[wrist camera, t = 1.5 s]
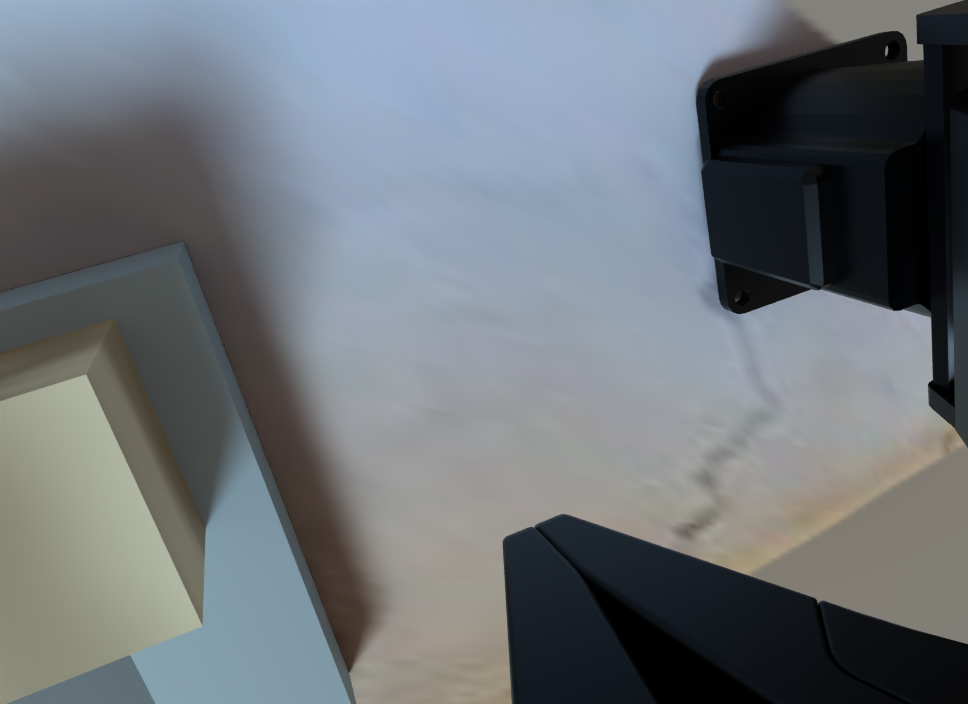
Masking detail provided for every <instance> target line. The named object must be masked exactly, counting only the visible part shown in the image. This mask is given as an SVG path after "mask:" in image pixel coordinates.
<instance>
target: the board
mask: <svg viewBox="0 0 968 704" xmlns="http://www.w3.org/2000/svg"><path fill="white" fill-rule="evenodd" d="M111 319H115V321H116V323H117V325H118V328H119V330H120V332H121V335H122V337H123V339H124V342H125V344H126V346H127V348H128V351H129V353H130V355H131V358H132V360H133V362H134V365H135V367H136V369H137V371H138V374H139V376H140V378H141V381H142V383H143V385H144V388H145V390H146V392H147V394H148V397H149V399H150V401H151V404H152V406H153V408H154V411H155V413H156V415H157V418H158V420H159V422H160V424H161V427H162V429H163V431H164V434H165V436H166V438H167V441H168V443H169V445H170V447H171V450H172V452H173V454H174V457H175V459H176V461H177V464H178V466H179V468H180V470H181V473H182V475H183V477H184V480H185V482H186V484H187V487H188V489H189V491H190V493H191V496H192V498H193V500H194V503H195V505H196V507H197V510H198V512H199V514H200V516H201V519H202V521H203V523H204V526H205V528H206V535H205V567H204V598H203V626H202V627H200V628H197V629H194V630H192V631H189V632H187V633H184V634H182V635H179V636H177V637H174V638H172V639H169V640H167V641H164V642H162V643H159V644H157V645H154V646H151V647H149V648H146V649H144V650H141V651H139V652H136V653H134V654H131V655H129V656H126V657H124V658H121V659H119V660H116V661H113V662H111V663H108V664H106V665H103V666H101V667H98V668H96V669H93V670H91V671H88V672H86V673H83V674H81V675H78V676H76V677H73V678H70V679H68V680H65V681H63V682H60V683H58V684H55V685H53V686H50V687H48V688H45V689H43V690H40V691H38V692H35V693H32V694H30V695H27V696H25V697H22V698H20V699H17V700H15V701H12V702H10V703H7V704H356V701H355V696H354V692H353V688H352V684H351V679H350V675H349V672H348V670H347V667H346V664H345V662H344V659H343V657H342V654H341V651H340V649H339V646H338V644H337V641H336V638H335V636H334V633H333V631H332V628H331V625H330V623H329V620H328V618H327V615H326V612H325V610H324V607H323V604H322V602H321V599H320V597H319V594H318V591H317V589H316V586H315V584H314V581H313V578H312V576H311V573H310V571H309V568H308V565H307V563H306V560H305V558H304V555H303V552H302V550H301V547H300V544H299V542H298V539H297V537H296V534H295V531H294V529H293V526H292V524H291V521H290V518H289V516H288V513H287V511H286V508H285V505H284V503H283V500H282V497H281V495H280V492H279V490H278V487H277V484H276V482H275V479H274V477H273V474H272V471H271V469H270V466H269V464H268V461H267V458H266V456H265V453H264V451H263V448H262V445H261V443H260V440H259V437H258V435H257V432H256V430H255V427H254V424H253V422H252V419H251V417H250V414H249V411H248V409H247V406H246V404H245V401H244V398H243V396H242V393H241V390H240V388H239V385H238V383H237V380H236V377H235V375H234V372H233V370H232V367H231V364H230V362H229V359H228V357H227V354H226V351H225V349H224V346H223V344H222V341H221V338H220V336H219V333H218V330H217V328H216V325H215V323H214V320H213V317H212V315H211V312H210V310H209V307H208V304H207V302H206V299H205V297H204V294H203V291H202V289H201V286H200V283H199V281H198V278H197V276H196V273H195V270H194V268H193V265H192V263H191V260H190V257H189V255H188V252H187V250H186V247H185V244H184V242H183V241H182V242H178V243H175V244H171V245H167V246H164V247H160V248H157V249H153V250H150V251H146V252H143V253H139V254H135V255H132V256H128V257H125V258H121V259H118V260H114V261H111V262H107V263H103V264H100V265H96V266H93V267H89V268H86V269H82V270H79V271H75V272H71V273H68V274H64V275H61V276H57V277H54V278H50V279H47V280H43V281H39V282H36V283H32V284H29V285H25V286H22V287H18V288H15V289H11V290H7V291H4V292H0V352H4V351H7V350H10V349H14V348H17V347H20V346H24V345H27V344H31V343H34V342H37V341H41V340H44V339H47V338H51V337H54V336H57V335H61V334H64V333H67V332H71V331H74V330H78V329H81V328H84V327H88V326H91V325H94V324H98V323H101V322H104V321H108V320H111Z"/></svg>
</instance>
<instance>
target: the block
mask: <svg viewBox="0 0 968 704" xmlns="http://www.w3.org/2000/svg"><path fill="white" fill-rule="evenodd" d="M205 535H206V528H205V526H204V523H203V521H202V519H201V516H200V514H199V512H198V510H197V507H196V505H195V503H194V500H193V498H192V496H191V493H190V491H189V489H188V487H187V484H186V482H185V480H184V477H183V475H182V473H181V470H180V468H179V466H178V464H177V461H176V459H175V457H174V454H173V452H172V450H171V447H170V445H169V443H168V441H167V438H166V436H165V434H164V431H163V429H162V427H161V424H160V422H159V420H158V418H157V415H156V413H155V411H154V408H153V406H152V404H151V401H150V399H149V397H148V394H147V392H146V390H145V388H144V385H143V383H142V381H141V378H140V376H139V374H138V371H137V369H136V367H135V365H134V362H133V360H132V358H131V355H130V353H129V351H128V348H127V346H126V344H125V342H124V339H123V337H122V335H121V332H120V330H119V328H118V325H117V323H116V321H115V319H111V320H108V321H104V322H101V323H98V324H94V325H91V326H88V327H84V328H81V329H78V330H74V331H71V332H67V333H64V334H61V335H57V336H54V337H51V338H47V339H44V340H41V341H37V342H34V343H31V344H27V345H24V346H20V347H17V348H14V349H10V350H7V351H4V352H0V704H7V703H10V702H12V701H15V700H17V699H20V698H22V697H25V696H27V695H30V694H32V693H35V692H38V691H40V690H43V689H45V688H48V687H50V686H53V685H55V684H58V683H60V682H63V681H65V680H68V679H70V678H73V677H76V676H78V675H81V674H83V673H86V672H88V671H91V670H93V669H96V668H98V667H101V666H103V665H106V664H108V663H111V662H113V661H116V660H119V659H121V658H124V657H126V656H129V655H131V654H134V653H136V652H139V651H141V650H144V649H146V648H149V647H151V646H154V645H157V644H159V643H162V642H164V641H167V640H169V639H172V638H174V637H177V636H179V635H182V634H184V633H187V632H189V631H192V630H194V629H197V628H200V627H202V626H203V598H204V567H205Z"/></svg>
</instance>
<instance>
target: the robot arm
mask: <svg viewBox="0 0 968 704" xmlns="http://www.w3.org/2000/svg"><path fill="white" fill-rule="evenodd" d="M916 19H917V44H923V53H924V60H920V61H907V44H906V39H905V37H904V36H903V34H901V33H900V32H898V31H890V32H883V33H878V34H874V35H870V36H867V37H863V38H859V39H856V40H852V41H848V42H845V43H841V44H838V45H834V46H830V47H827V48H823V49H820V50H816V51H812V52H809V53H805V54H801V55H798V56H794V57H791V58H787V59H783V60H780V61H776V62H773V63H769V64H765V65H762V66H758V67H754V68H751V69H747V70H744V71H740V72H736V73H733V74H729V75H726V76H722V77H718V78H715V79H711V80H709V81H707V82H705V83H704V84H703V85H702V86H701V87H700V89H699V91H698V94H697V99H696V106H697V114H698V123H699V131H700V140H701V148H702V157H703V165H704V166H703V168H702V172H701V173H702V182H703V190H704V198H705V207H706V215H707V223H708V232H709V240H710V248H711V255H712V256H713V257H714V258H715V266H716V275H717V283H718V292H719V300H720V303H721V305H722V306H723V307H724V309H726V310H729V311H731V312H734V313H737V314H743V313H747V312H750V311H752V310H755V309H758V308H761V307H763V306H766V305H769V304H772V303H774V302H777V301H780V300H783V299H786V298H788V297H791V296H794V295H797V294H799V293H802V292H805V291H808V290H811V289H813V290H820V289H822V290H825V291H829V292H832V293H836V294H839V295H842V296H846V297H849V298H853V299H856V300H859V301H863V302H866V303H870V304H873V305H876V306H880V307H883V308H887V309H890V310H893V311H899V310H903V309H904V310H907V311H911V312H914V313H918V314H921V315H925V316H928V317H931V329H932V363H933V380H932V381H931V382H929V384H928V397H929V406H930V407H931V408H932V409H933V410H934V411H936V412H937V413H938V414H939V415H940V416H941V417H942V418H944V419H945V420H946V421H947V422H948V423H949V424H951V425H952V426H953V427H954V428H955V430H956V431H957V433H958V434H959V436H960V437H961V438H962V440H963V441H964V443H965V444H966V446H967V447H968V0H964V1H960V2H957V3H954V4H951V5H947V6H944V7H941V8H937V9H934V10H931V11H927V12H924V13H921V14H918V15H917V16H916ZM886 46H888V55H887V56H885V48H886ZM716 91H718V92H719V93H720V96H721V102H720V104H719V106H718V107H717V108H716V107H715V105H714V103H713V98H714V95H715V93H716ZM740 289H741V291H742V293H741V297H740V299H739V300H738V301H735V296H736V294H737V292H738V291H739V290H740ZM503 558H504V575H505V592H506V610H507V627H508V644H509V662H510V679H511V697H512V704H968V644H965V643H961V642H957V641H954V640H950V639H947V638H943V637H939V636H936V635H932V634H928V633H925V632H921V631H917V630H914V629H910V628H906V627H904V626H900V625H897V624H894V623H891V622H888V621H884V620H881V619H878V618H875V617H872V616H869V615H865V614H862V613H859V612H856V611H852V610H850V609H847V608H844V607H841V606H838V605H835V604H832V603H829V602H826V601H820V602H819V604H818V602H817V600H816V599H815V598H813V597H810V596H807V595H805V594H801V593H799V592H796V591H793V590H790V589H787V588H784V587H780V586H778V585H775V584H772V583H769V582H766V581H763V580H760V579H757V578H754V577H751V576H748V575H745V574H742V573H739V572H736V571H733V570H730V569H727V568H724V567H721V566H718V565H715V564H713V563H710V562H707V561H704V560H701V559H698V558H695V557H692V556H689V555H686V554H683V553H680V552H677V551H674V550H671V549H668V548H665V547H662V546H659V545H656V544H653V543H650V542H647V541H644V540H641V539H638V538H635V537H632V536H629V535H626V534H623V533H621V532H618V531H615V530H612V529H609V528H606V527H603V526H600V525H597V524H594V523H591V522H588V521H585V520H582V519H579V518H576V517H573V516H570V515H566V514H561V515H558V516H556V517H553V518H551V519H548V520H546V521H543V522H541V523H539V524H537V525H535V527H529V528H526V529H524V530H521V531H519V532H516V533H514V534H511V535H509V536H507V537H505V538H504V539H503Z"/></svg>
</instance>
